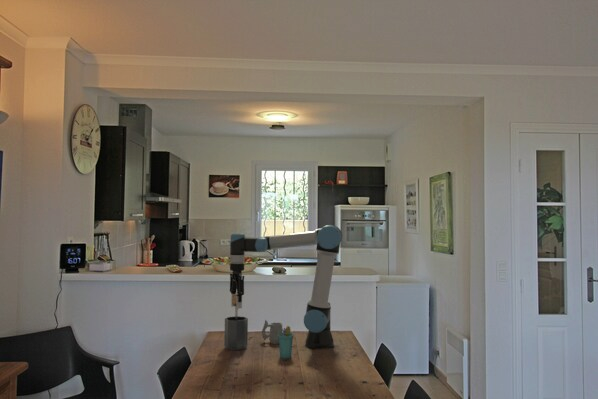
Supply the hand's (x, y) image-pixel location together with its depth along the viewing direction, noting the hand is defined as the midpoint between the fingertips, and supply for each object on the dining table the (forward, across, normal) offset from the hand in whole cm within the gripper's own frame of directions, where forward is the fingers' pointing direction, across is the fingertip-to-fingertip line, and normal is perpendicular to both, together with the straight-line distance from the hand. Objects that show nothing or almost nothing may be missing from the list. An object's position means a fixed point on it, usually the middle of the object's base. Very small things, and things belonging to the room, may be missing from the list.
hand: (236, 307), depth 243 cm
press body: (+21, -2, 0) cm, 21 cm away
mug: (+21, -1, +22) cm, 30 cm away
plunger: (+11, 0, 0) cm, 11 cm away
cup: (+21, +28, +14) cm, 38 cm away
